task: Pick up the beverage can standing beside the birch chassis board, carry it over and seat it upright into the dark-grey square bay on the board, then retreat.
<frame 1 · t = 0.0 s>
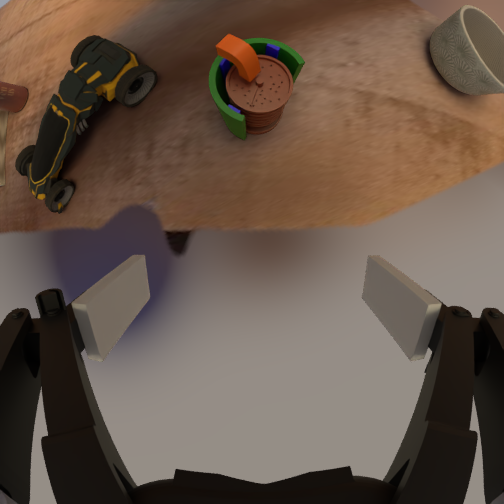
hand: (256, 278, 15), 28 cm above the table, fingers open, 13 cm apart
planter: (448, 65, 33), on the table
beverage can: (21, 100, 35), on the table
toy car: (82, 125, 38), on the table
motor: (252, 109, 38), on the table
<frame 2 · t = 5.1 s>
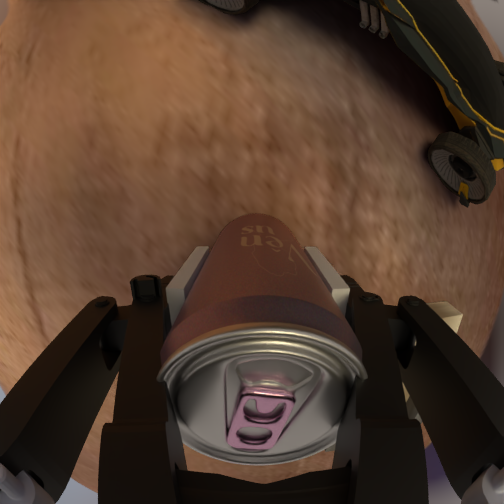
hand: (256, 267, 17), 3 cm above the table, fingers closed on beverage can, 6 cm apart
chassis board: (338, 372, 24), on the table
beverage can: (256, 251, 20), on the table, touching gripper
toy car: (380, 33, 15), on the table
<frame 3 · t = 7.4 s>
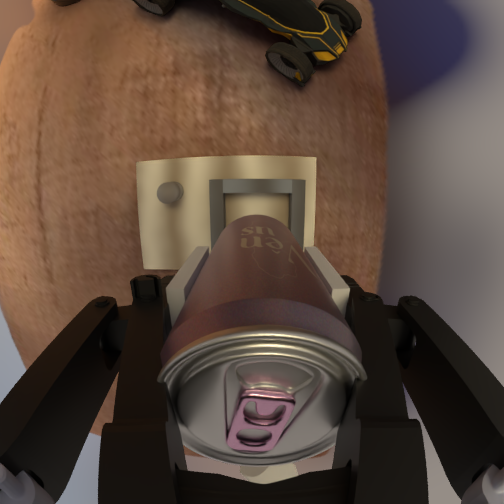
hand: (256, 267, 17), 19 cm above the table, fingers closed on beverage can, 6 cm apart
chassis board: (225, 211, 35), on the table
light fixture: (276, 406, 46), on the table
beverage can: (256, 252, 20), point 16 cm above the table, touching gripper
toy car: (246, 7, 27), on the table
when the fingers open (8 cm above the table, at t = 9.7 s): beverage can drops 2 cm, resting on chassis board.
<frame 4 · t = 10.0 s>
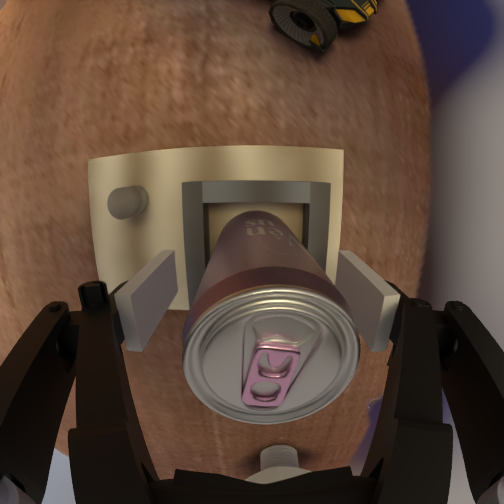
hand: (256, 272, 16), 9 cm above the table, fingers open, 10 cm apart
chassis board: (211, 226, 25), on the table
light fixture: (278, 451, 35), on the table
beverage can: (255, 245, 22), point 3 cm above the table, touching chassis board
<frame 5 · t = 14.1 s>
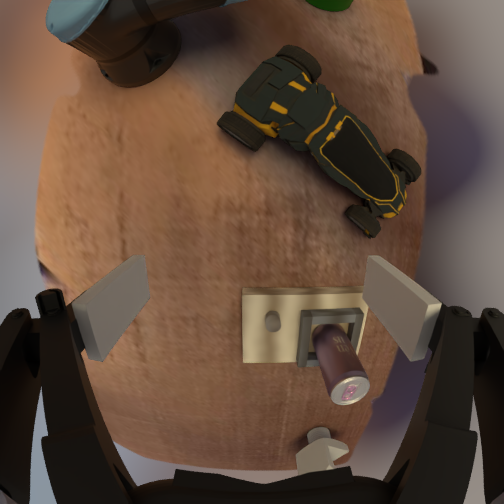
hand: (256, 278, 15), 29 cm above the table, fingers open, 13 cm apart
chassis board: (303, 322, 48), on the table
light fixture: (317, 432, 58), on the table
beverage can: (327, 333, 46), point 3 cm above the table, touching chassis board
toy car: (326, 145, 40), on the table
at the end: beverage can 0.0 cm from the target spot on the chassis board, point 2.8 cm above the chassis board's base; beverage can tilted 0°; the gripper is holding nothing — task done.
